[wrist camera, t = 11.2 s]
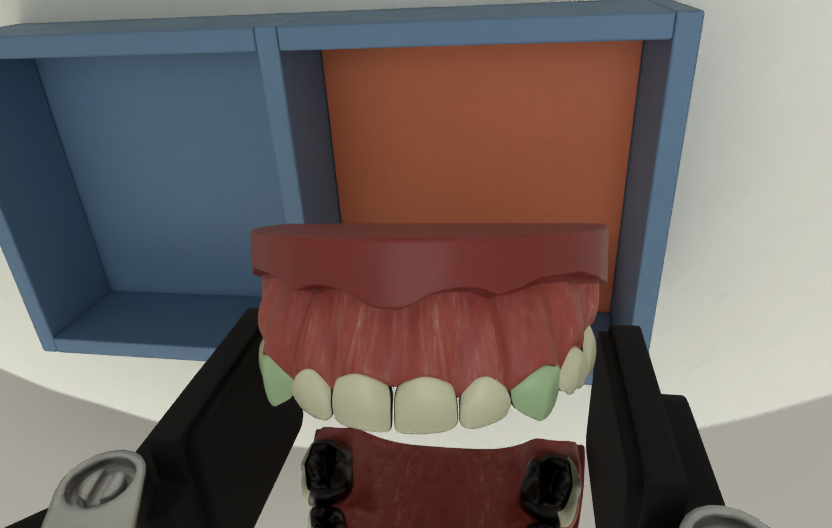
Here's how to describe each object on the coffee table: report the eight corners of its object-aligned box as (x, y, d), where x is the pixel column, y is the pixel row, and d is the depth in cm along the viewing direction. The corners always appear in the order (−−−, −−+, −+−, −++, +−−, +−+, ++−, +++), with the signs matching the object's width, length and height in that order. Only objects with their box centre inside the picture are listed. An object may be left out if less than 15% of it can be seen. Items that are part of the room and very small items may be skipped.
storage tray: (110, 295, 29) (43, 351, 25) (19, 24, 23) (-87, 39, 19) (624, 318, 25) (643, 389, 21) (667, -3, 19) (705, 9, 15)
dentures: (266, 690, 11) (129, 269, 7) (329, 491, 15) (266, 154, 11) (611, 725, 10) (682, 267, 6) (577, 503, 14) (607, 143, 10)
